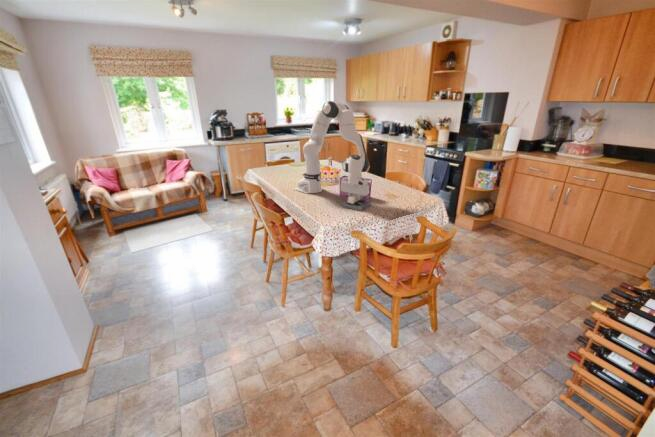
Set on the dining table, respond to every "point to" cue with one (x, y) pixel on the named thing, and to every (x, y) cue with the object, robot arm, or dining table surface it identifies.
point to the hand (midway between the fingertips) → (354, 199)
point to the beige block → (352, 199)
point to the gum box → (352, 194)
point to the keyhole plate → (357, 205)
